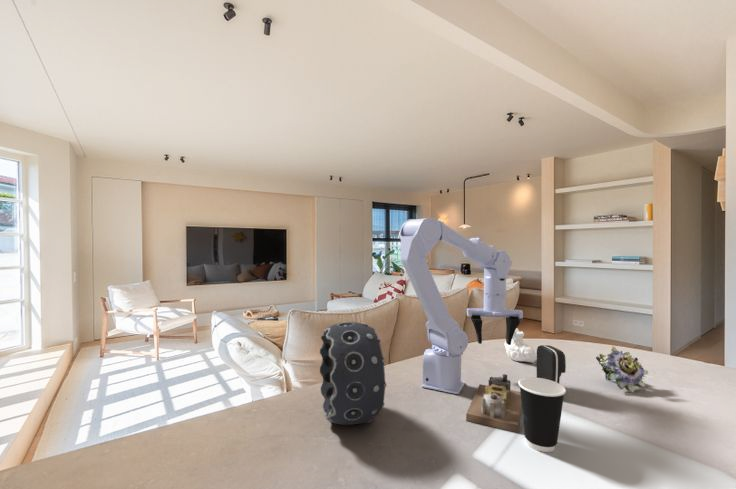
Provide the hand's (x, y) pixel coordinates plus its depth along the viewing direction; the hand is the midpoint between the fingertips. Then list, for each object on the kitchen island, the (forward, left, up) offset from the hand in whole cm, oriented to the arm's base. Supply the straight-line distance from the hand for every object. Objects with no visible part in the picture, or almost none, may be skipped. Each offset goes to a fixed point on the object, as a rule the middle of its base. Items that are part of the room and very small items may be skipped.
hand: (493, 343), depth 98 cm
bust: (+5, +19, -10) cm, 22 cm away
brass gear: (+3, -19, -8) cm, 21 cm away
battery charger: (+14, -4, -10) cm, 17 cm away
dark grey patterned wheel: (-24, -38, -10) cm, 46 cm away
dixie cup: (+12, -30, -10) cm, 34 cm away
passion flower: (+30, +10, -10) cm, 33 cm away
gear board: (+3, -19, -9) cm, 21 cm away
